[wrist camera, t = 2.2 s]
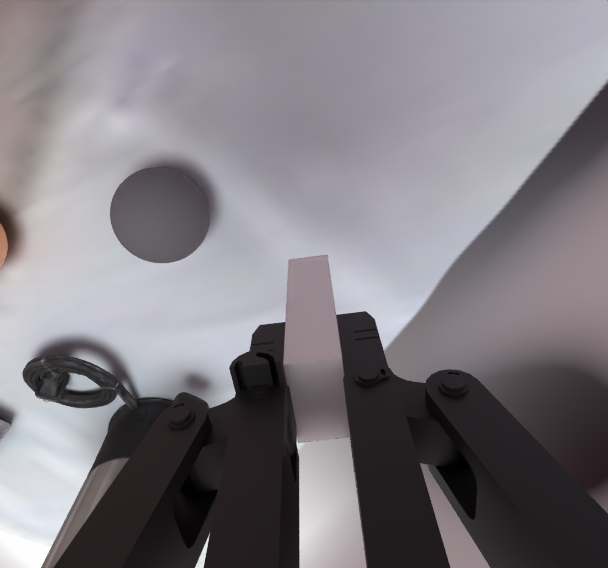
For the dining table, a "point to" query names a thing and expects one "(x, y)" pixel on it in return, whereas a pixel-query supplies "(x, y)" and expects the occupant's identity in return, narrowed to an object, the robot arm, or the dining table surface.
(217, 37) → the dining table surface
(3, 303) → the dining table surface
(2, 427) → the ceramic mug
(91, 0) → the dining table surface
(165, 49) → the dining table surface
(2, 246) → the terracotta ball
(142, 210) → the dark gray ball
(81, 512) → the milk frother
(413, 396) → the robot arm
